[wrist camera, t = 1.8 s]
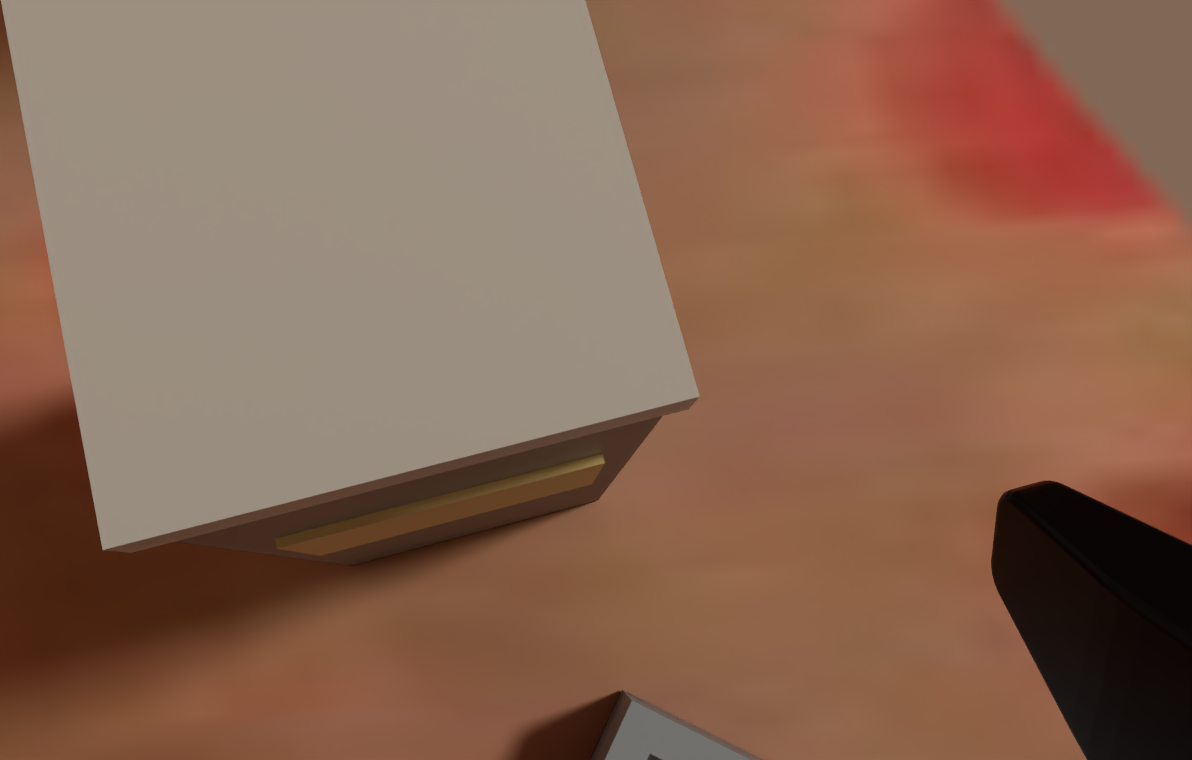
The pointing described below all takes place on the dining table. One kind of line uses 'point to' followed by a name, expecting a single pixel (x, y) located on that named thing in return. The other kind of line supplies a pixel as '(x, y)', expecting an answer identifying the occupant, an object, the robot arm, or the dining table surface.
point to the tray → (658, 736)
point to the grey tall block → (342, 266)
